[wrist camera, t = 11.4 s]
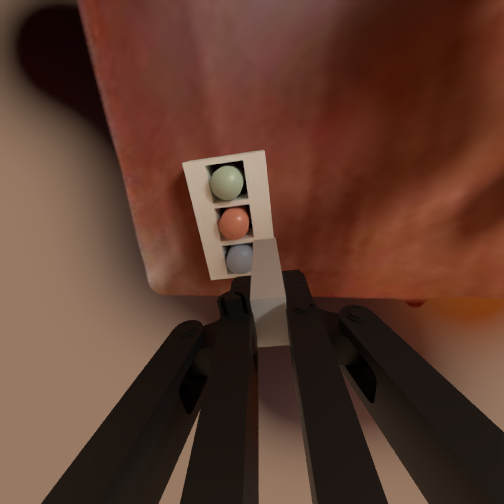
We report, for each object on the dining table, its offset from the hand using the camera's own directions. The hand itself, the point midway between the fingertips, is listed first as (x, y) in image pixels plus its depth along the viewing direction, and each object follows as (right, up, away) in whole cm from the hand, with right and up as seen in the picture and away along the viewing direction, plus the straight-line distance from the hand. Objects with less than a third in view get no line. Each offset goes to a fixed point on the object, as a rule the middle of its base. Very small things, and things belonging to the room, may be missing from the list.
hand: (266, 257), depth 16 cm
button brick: (-4, +7, +26) cm, 27 cm away
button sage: (-5, +13, +23) cm, 27 cm away
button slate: (-3, +1, +28) cm, 29 cm away
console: (-4, +7, +26) cm, 27 cm away
